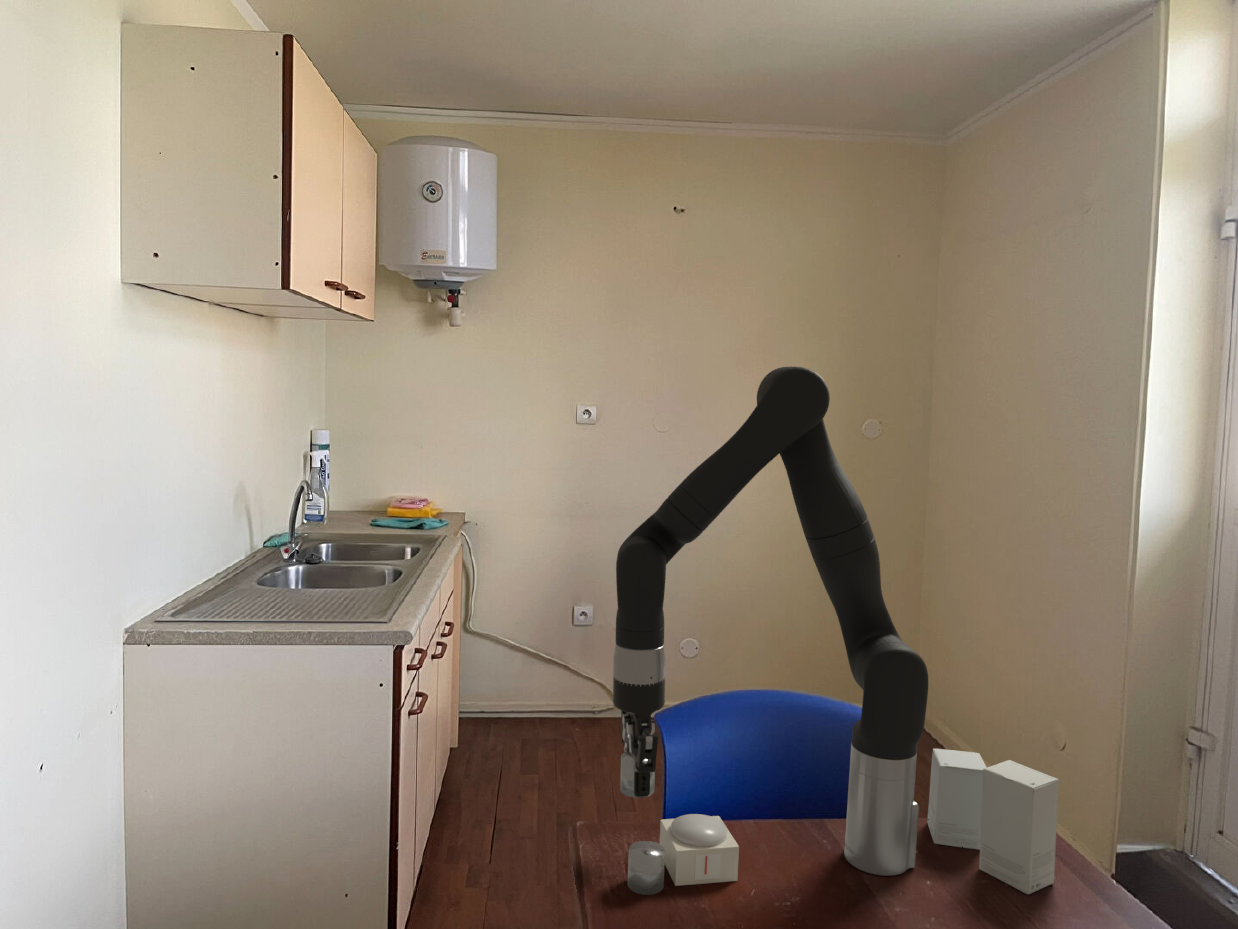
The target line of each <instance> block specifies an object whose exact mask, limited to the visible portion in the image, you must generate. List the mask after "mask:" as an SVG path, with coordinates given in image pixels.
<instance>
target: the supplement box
mask: <svg viewBox="0 0 1238 929" xmlns="http://www.w3.org/2000/svg"><path fill="white" fill-rule="evenodd" d="M930 764H931V767H930V780H929V796H928V809H927V819H929V820H927V822H926V823H927V825H928V828H929V832H930V835H931V838H932V841H933V844H935V845H942V846H950V847H956V848H962V847H963V849H971V850H978V851H980V839H981V814H982V790H983V769H984V768H987V765H986V764H985V762H984V760H983V758H982V756H981V753H979V752H973V751H964V750H963V751H962V750H957V749H956V750H952V749H944V748H932V756H931V763H930Z"/></svg>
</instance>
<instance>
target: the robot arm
mask: <svg viewBox="0 0 1238 929" xmlns="http://www.w3.org/2000/svg"><path fill="white" fill-rule="evenodd" d="M756 392H757V393H756V406H755V407H754V409H753V410H752V412H751V413H750V415H749V416H748V418H746V420H745V421H744V422H743V424H742V425H741V426H739V428H738V429H737V430H736V432H735V433H734V434H733V435H732V436H731V437H729V439H728V440H727V441H726V442H724V444H723V445H721V446H720V447H719V448H718V449H717V450H715V452H713V453H712V454H711V455H709V457H707V458H706V459H705V460H704V461H702V462H701V463H700V464H699V465H698V466H697V467H696V468H695V469H693V470H692V471H691V472H690V473H689V475H687V476H686V477H685V478H684V479H683V480H682V482H680V484H679V485H678V486H677V487H676V488H675V489H674V490H673V491H672V492H671V493H670V494H669V495H668V497H667V498H665V500H664V501H663V502H662V504H661V505H660V506H659V507H658V508H657V510H656V511H655V512H653V513H652V515H651V514H650V516H649V517H648V518H647V519H646V520H644V521H643V522H642V523H641V524H640V525H639V526H638V527H636V529H634V531H632V532H631V533H630V534H629V536H627V537H626V539H625V540H624V541H623V542H622V544H621V545H620V547H619V549H618V552H617V557H616V565H615V572H616V573H615V574H616V579H615V580H616V582H615V583H616V598H617V599H616V600H617V601H616V602H617V608H616V609H617V610H616V616H615V645H614V646H615V648H614V654H613V670H612V671H613V676H612V677H613V678H612V682H613V683H612V686H613V687H612V703H613V705H614V707H615V708H616V709H618V710H620V715H621V716H620V718H621V719H620V720H621V744H622V745H624V747H623V751H624V752H627V751H630V754H632V755H633V760H634V766H633V769H634V794H635V796H636V797H643V796H648V795H649V794H650V772H655V773H656V769H657V766H656V765H657V753H658V742H659V736H658V734H657V733H656V734H655V732H656V728H655V721H654V719H653V720H652V714H654V712H658V711H659V710H661V709H663V707H664V706H665V703H666V700H665V699H666V697H665V696H666V652H665V615H664V603H665V602H664V600H665V589H666V576H667V574H666V572H667V564H668V563H669V562H670V561H671V560H672V559H673V558H674V557H675V556H676V554H678V552H680V551H681V549H682V548H684V547H685V545H687V544H690V543H692V542H694V541H695V540H696V539H697V538H698V537H700V536H701V535H702V534H703V532H705V531H706V529H707V528H708V527H709V526H710V525H711V524H712V523H713V522H714V521H715V519H716V518H718V516H720V514H721V513H722V512H723V511H724V510H725V509H726V508H727V507H728V505H730V503H731V502H732V501H733V500H734V499H735V498H736V497H737V496H738V495H739V493H740V492H741V491H743V489H744V488H745V487H746V486H747V485H748V484H749V483H750V482H751V481H752V479H754V477H755V476H757V475H758V473H760V472H761V471H762V470H763V469H764V468H765V467H766V466H767V465H768V464H769V463H771V462H772V461H773V459H775V458H777V456H778V455H779V456H780V457H781V460H782V463H783V465H784V468H785V471H786V474H787V478H788V482H789V485H790V490H791V494H792V497H793V501H794V505H795V508H796V511H797V514H798V517H799V518H798V519H799V520H800V524H801V528H802V531H803V534H804V537H805V540H806V542H807V546H808V548H809V552H810V554H811V557H812V561H813V563H814V565H815V567H816V569H817V572H818V574H819V576H820V579H821V581H822V584H823V586H824V588H825V591H826V593H827V595H828V597H829V600H830V601H831V604H832V606H833V608H834V611H835V614H836V616H837V619H838V622H839V627H840V630H841V634H842V635H841V636H842V638H843V643H844V647H845V650H846V652H845V653H846V657H847V660H848V665H849V668H850V671H851V674H852V676H853V679H854V680H855V682H856V684H857V685H858V686H859V687H860V688H861V689H862V691H863V693H862V702H861V703H862V704H861V715H860V719H858V720H857V721H856V722H854V724H853V725H852V730H851V743H850V756H849V758H850V760H849V771H848V772H849V775H848V789H847V790H848V791H847V808H846V820H845V821H846V822H845V835H844V837H845V838H844V849H843V850H844V852H843V854H844V858H845V860H846V861H847V862H848V863H849V864H850V865H852V866H853V867H854V868H856V869H858V870H860V871H862V872H865V873H867V874H873V875H877V876H888V877H889V876H897V875H902V874H903V873H905V872H906V871H907V870H909V869H914V868H915V867H916V856H917V855H916V854H917V842H918V841H917V838H918V829H919V828H918V827H919V826H918V825H919V813H920V812H919V811H920V806H919V803H917V802H916V801H915V800H914V798H915V787H916V786H915V783H916V782H915V781H916V769H917V768H916V767H917V757H918V756H917V754H918V744H919V742H920V740H921V738H922V736H923V734H924V728H925V720H926V715H927V714H926V713H927V705H928V704H927V703H928V697H929V696H928V695H929V673H928V667H927V665H926V662H925V660H924V659H923V658H922V657H921V655H920V654H919V653H918V652H916V651H915V650H914V649H913V648H912V647H910V646H909V645H908V644H906V643H905V642H904V641H903V639H902V638H901V637H900V635H899V633H898V631H897V629H896V627H895V625H894V622H893V620H892V617H891V615H890V613H889V610H888V607H887V605H886V602H885V600H884V596H883V595H884V594H883V591H882V581H881V580H882V579H881V562H880V554H879V550H878V549H879V548H878V545H877V540H876V538H875V534H874V533H873V529H872V527H871V524H870V521H869V518H868V515H867V512H866V510H865V508H864V505H863V503H862V501H861V498H860V496H859V495H858V494H857V491H856V490H855V488H854V486H853V484H852V481H850V478H849V477H848V476H847V474H846V472H845V470H844V469H843V467H842V466H841V464H840V462H839V461H838V458H837V457H836V455H835V452H834V449H833V447H832V445H831V441H830V439H829V435H828V432H827V428H826V425H825V421H824V417H825V416H826V414H827V412H828V410H829V406H830V400H831V399H830V398H831V397H830V391H829V387H828V384H827V383H826V381H825V379H824V378H823V377H822V376H821V375H820V374H819V373H817V372H816V371H814V370H812V369H809V368H806V367H802V366H782V367H779V368H775V369H773V370H771V371H770V372H768V373H767V374H766V375H765V376H764V377H763V379H762V380H761V381H760V384H759V386H758V388H757V391H756ZM646 759H647V762H646V763H642V762H643V760H646ZM648 797H649V796H648ZM643 798H644V797H643Z"/></svg>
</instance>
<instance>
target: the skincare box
mask: <svg viewBox="0 0 1238 929" xmlns="http://www.w3.org/2000/svg"><path fill="white" fill-rule="evenodd" d="M986 767H987V766H986ZM1059 781H1060V779H1059V778H1057V777H1054V776H1052V775H1049V774H1046V773H1045V772H1041V771H1039V770H1037V769H1033V768H1031V767H1028V766H1026V765H1023V764H1020V763H1018V762H1016V761H1013V760H1011V759H1008V760H1004V761H1001V762H999V763H996V764H994V765H990V766H988V767H987V768H984V769H983V790H982V814H981V839H980V850H979V864H978V865H979V867H978V868H979V870H980V871H982V872H984V873H985V874H988V875H990V876H992V877H994V879H998V880H999V881H1001V882H1002V883H1004V884H1007V885H1009V886H1010V887H1013V888H1014V889H1016V890H1018V891H1019V892H1022V893H1023V894H1026V895H1030V894H1033V893H1035V892H1037V891H1040V890H1042V889H1044V888H1046V887H1049V886H1050V885H1052V884H1053V883H1055V882H1054V881H1055V868H1056V867H1055V866H1056V864H1055V863H1056V846H1057V845H1056V844H1057V827H1058V826H1057V824H1058V822H1057V821H1058V805H1059V786H1060V785H1059V784H1060V782H1059Z"/></svg>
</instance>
